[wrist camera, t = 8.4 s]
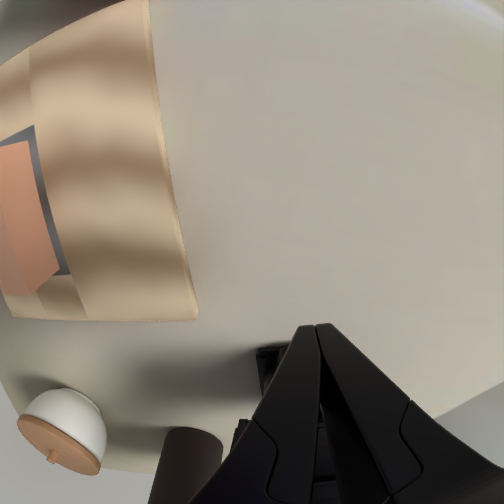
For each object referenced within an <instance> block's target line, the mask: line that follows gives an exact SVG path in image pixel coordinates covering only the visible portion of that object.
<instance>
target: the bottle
mask: <svg viewBox="0 0 504 504" xmlns="http://www.w3.org/2000/svg"><path fill="white" fill-rule="evenodd" d="M222 454H223V445H222V443H221V441H220V440H218V439H217V438H216V437H215V436H213V435H211V434H209V433H207V432H204V431H201V430H197V429H191V428H179V429H174V430H172V431H170V432H169V433H168V434H167V436H166V438H165V442H164V445H163V449H162V453H161V456H160V460H159V463H158V467H157V471H156V474H155V478H154V482H153V486H152V489H151V493H150V497H149V501H148V504H187V503H188V502H189V501H190V500H191V499H192V498H193V496H194V495H195V494H196V493H197V492H198V491H199V490H200V489H201V487H202V486H203V485H204V484H205V483H206V482H207V481H208V479H209V478H210V477H211V476H212V475H213V474H214V472H215V471H216V470H217V469H218V468H219V466H220V465H221V462H222Z"/></svg>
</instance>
